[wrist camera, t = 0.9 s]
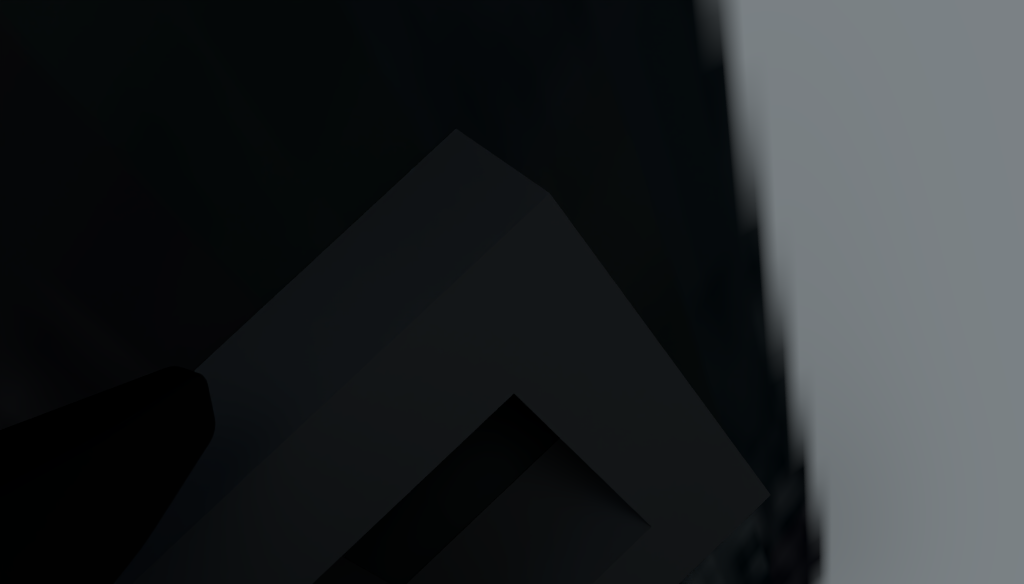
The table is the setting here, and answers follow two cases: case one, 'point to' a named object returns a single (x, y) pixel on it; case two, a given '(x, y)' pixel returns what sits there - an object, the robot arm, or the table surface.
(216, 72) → the table surface
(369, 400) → the socket block
